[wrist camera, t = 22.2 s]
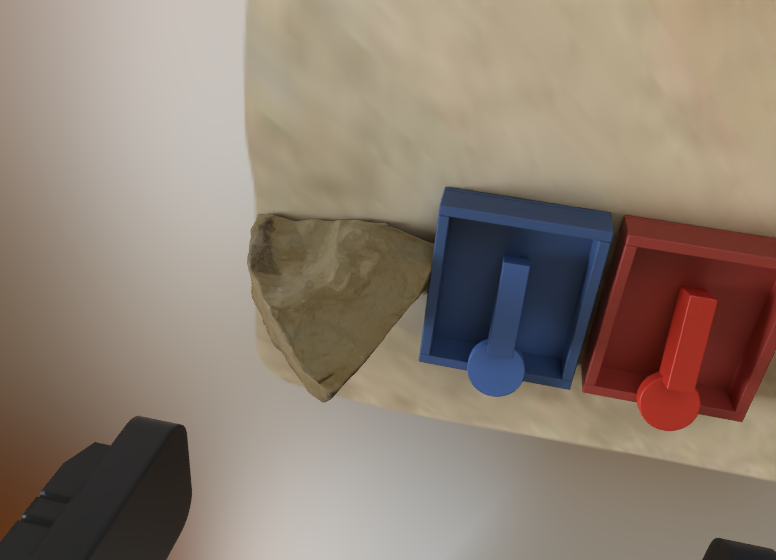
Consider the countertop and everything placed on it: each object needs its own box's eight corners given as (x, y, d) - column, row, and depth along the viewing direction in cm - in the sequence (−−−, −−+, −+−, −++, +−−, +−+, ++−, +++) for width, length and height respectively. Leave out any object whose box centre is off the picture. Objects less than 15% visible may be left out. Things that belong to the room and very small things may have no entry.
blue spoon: (487, 251, 40) (486, 259, 37) (545, 261, 39) (547, 269, 37) (464, 384, 41) (461, 399, 39) (518, 395, 41) (519, 410, 39)
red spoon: (662, 282, 38) (672, 291, 36) (724, 292, 38) (737, 302, 36) (630, 418, 40) (637, 434, 38) (688, 429, 40) (698, 446, 38)
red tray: (624, 214, 37) (628, 234, 35) (800, 242, 36) (815, 264, 34) (580, 367, 43) (582, 392, 41) (733, 395, 42) (742, 422, 40)
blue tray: (445, 186, 39) (439, 204, 36) (610, 212, 37) (614, 232, 35) (424, 338, 44) (418, 361, 42) (568, 364, 43) (569, 390, 41)
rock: (200, 277, 42) (323, 393, 43) (170, 267, 34) (324, 412, 34) (327, 149, 43) (446, 262, 44) (329, 108, 35) (476, 249, 35)
